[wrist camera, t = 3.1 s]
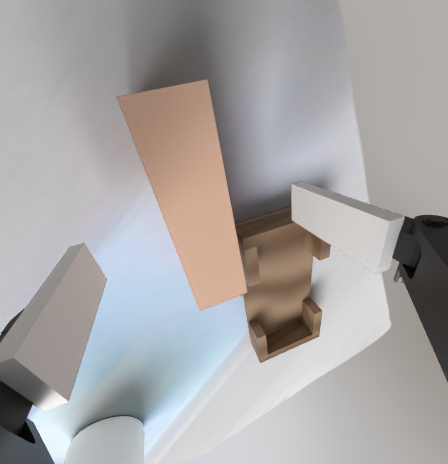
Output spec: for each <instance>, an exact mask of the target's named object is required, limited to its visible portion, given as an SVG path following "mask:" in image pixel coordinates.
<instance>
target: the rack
mask: <svg viewBox="0 0 448 464" xmlns="http://www.w3.org/2000/svg"><path fill="white" fill-rule="evenodd" d="M235 229H236V234H237V239H238V245H239V250H240V255H241V261H242V266H243V271H244V277H245V282H246V288H247V293H245V294H243V297H244V303H245V309H246V315H247V321H248V326H249V332H250V338H251V343H252V345H253V348H254V350H255V352H256V354H257V356H258V359H259V361H260V363H261V362H264V361H266V360H268V359H270V358H273V357H275V356H277V355H279V354H281V353H284V352H286V351H288V350H290V349H292V348H295V347H297V346H299V345H301V344H303V343H306V342H308V341H310V340H312V339H314V338H317V337H319V333H320V325H321V317H322V310H321V309H320V308H319V307H318V306H317V305H316V303H315V302H314V301H313V300H312V299H311V298H310V286H311V272H312V258H313V256H315V257H316V258H317V259H318V260H322V259H325V258H328V257H329V254H330V246H331V245H330V244H328V243H327V242H325V241H323V240H322V239H320V238H319V237H317V236H316V235H314V234H313V233H311V232H309V231H308V230H306V229H305V228H303V227H302V226H300V225H299V224H297V223H295V222H294V221H292V206H291V207H288V208H284V209H281V210H278V211H274V212H271V213H268V214H265V215H261V216H258V217H255V218H252V219H248V220H245V221H242V222H239V223H235Z"/></svg>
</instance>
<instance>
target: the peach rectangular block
mask: <svg viewBox="0 0 448 464" xmlns="http://www.w3.org/2000/svg"><path fill="white" fill-rule="evenodd" d="M117 99H118V102H119V104H120V107H121V110H122V112H123V115H124V117H125V120H126V122H127V125H128V128H129V130H130V133H131V135H132V138H133V140H134V143H135V146H136V148H137V151H138V153H139V156H140V158H141V161H142V164H143V166H144V169H145V171H146V174H147V176H148V179H149V181H150V184H151V187H152V189H153V192H154V194H155V197H156V199H157V202H158V205H159V207H160V210H161V212H162V215H163V217H164V220H165V223H166V225H167V228H168V230H169V233H170V235H171V238H172V241H173V243H174V246H175V248H176V251H177V253H178V256H179V259H180V261H181V264H182V266H183V269H184V271H185V274H186V276H187V279H188V282H189V284H190V287H191V289H192V292H193V294H194V297H195V300H196V302H197V305H198V307H199V310H200V311H202V310H204V309H207V308H209V307H212V306H214V305H217V304H219V303H222V302H224V301H227V300H230V299H232V298H235V297H237V296H240V295H242V294H245V293H247V288H246V282H245V277H244V271H243V266H242V261H241V255H240V250H239V245H238V239H237V234H236V229H235V223H234V218H233V213H232V207H231V202H230V197H229V191H228V186H227V181H226V175H225V170H224V164H223V159H222V154H221V148H220V143H219V138H218V132H217V127H216V122H215V116H214V111H213V106H212V100H211V95H210V90H209V84H208V79H206V80H201V81H196V82H191V83H186V84H180V85H175V86H170V87H165V88H160V89H154V90H149V91H144V92H139V93H134V94H129V95H123V96H118V97H117Z"/></svg>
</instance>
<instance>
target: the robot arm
mask: <svg viewBox="0 0 448 464" xmlns="http://www.w3.org/2000/svg"><path fill="white" fill-rule="evenodd" d="M291 202H292V221H294V222H295V223H297V224H299V225H300V226H302V227H303V228H305V229H306V230H308V231H309V232H311V233H313V234H314V235H316V236H317V237H319V238H320V239H322V240H323V241H325V242H327V243H328V244H330V245H331V246H333V247H334V248H336V249H337V250H339V251H341V252H342V253H344V254H345V255H347V256H348V257H350V258H351V259H353V260H355V261H356V262H358V263H359V264H361V265H362V266H364V267H365V268H367V269H369V270H370V271H372V272H373V273H375V274H378V273H381V272H383V271H386V270H388V269H389V268H390V264H391V261H392V258H394V259H396V260H397V261H399V265H398V268H397V271H396V274H395V277H394V282H397V281H398V278H399V277H402V283H404V284H405V286H406V288H407V290H408V293H409V295H410V297H411V299H412V302H413V304H414V306H415V308H416V311H417V313H418V315H419V318H420V320H421V322H422V324H423V327H424V329H425V331H426V334H427V336H428V338H429V340H430V343H431V345H432V347H433V349H434V352H435V354H436V356H437V359H438V361H439V363H440V365H441V368H442V370H443V372H444V375H445V377H446V379H447V381H448V218H446V217H442V216H436V215H421V216H417V217H415V218H414V219H412V218H409V217H406V216H403V215H400V214H397V213H394V212H391V211H388V210H385V209H382V208H379V207H376V206H373V205H370V204H367V203H364V202H361V201H358V200H355V199H352V198H349V197H346V196H343V195H341V194H338V193H335V192H332V191H329V190H326V189H323V188H320V187H317V186H314V185H311V184H308V183H305V182H302V181H300V182H297V183H293V184H291ZM106 281H107V279H106V277H105V275H104V274H103V272H102V270H101V269H100V267H99V266H98V264H97V262H96V261H95V259H94V258H93V256H92V254H91V253H90V251H89V249H88V248H87V246H86V245H85V243H82V244H79V245H75V246H72V247H69V249H68V250H67V251H66V253H65V254H64V256H63V257H62V258H61V260H60V261H59V262H58V264H57V265H56V267H55V268H54V269H53V271H52V272H51V273H50V275H49V276H48V278H47V279H46V280H45V282H44V283H43V284H42V286H41V287H40V289H39V290H38V291H37V293H36V294H35V296H34V297H33V298H32V300H31V301H30V302H29V304H28V305H27V307H26V308H25V309H23V310H22V311H21V312H20V313H18V314H17V315H16V316H15V317H14V318H13V319H12V320H11V321H10V322H9V323H8V324H7V326H6V327H5V328H4V330H3V331H2V332H1V335H0V464H54V462H53V460H52V458H51V456H50V454H49V452H48V450H47V448H46V446H45V444H44V442H43V440H42V438H41V436H40V434H39V432H38V430H37V429H36V427H35V425H34V423H33V422H32V421H31V420H29V419H28V418H27V416H28V414H29V412H30V409H31V407H32V405H34V406H36V407H37V408H39V409H40V410H42V411H43V412H45V411H48V410H50V409H53V408H55V407H57V406H60V405H62V404H65V403H67V402H69V399H70V396H71V393H72V390H73V387H74V383H75V380H76V377H77V374H78V371H79V367H80V364H81V361H82V358H83V355H84V352H85V348H86V345H87V342H88V339H89V336H90V332H91V329H92V326H93V323H94V320H95V316H96V313H97V310H98V307H99V304H100V301H101V297H102V294H103V291H104V288H105V285H106Z"/></svg>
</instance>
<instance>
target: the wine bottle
mask: <svg viewBox="0 0 448 464" xmlns="http://www.w3.org/2000/svg"><path fill="white" fill-rule="evenodd" d="M64 464H144V427H143V424H142V423H141V421H140V420H138V419H137V418H134V417H130V416H118V417H112V418H107V419H104V420H101V421H98V422H96V423H94V424H91V425H90V426H88V427H86V428H85V429H83V430H82V431H81V432H79V433H78V434H77V435H76V436H75V438H74V439H73V440H72V442H71V443H70V446H69V448H68V450H67V453H66V457H65V460H64Z"/></svg>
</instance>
